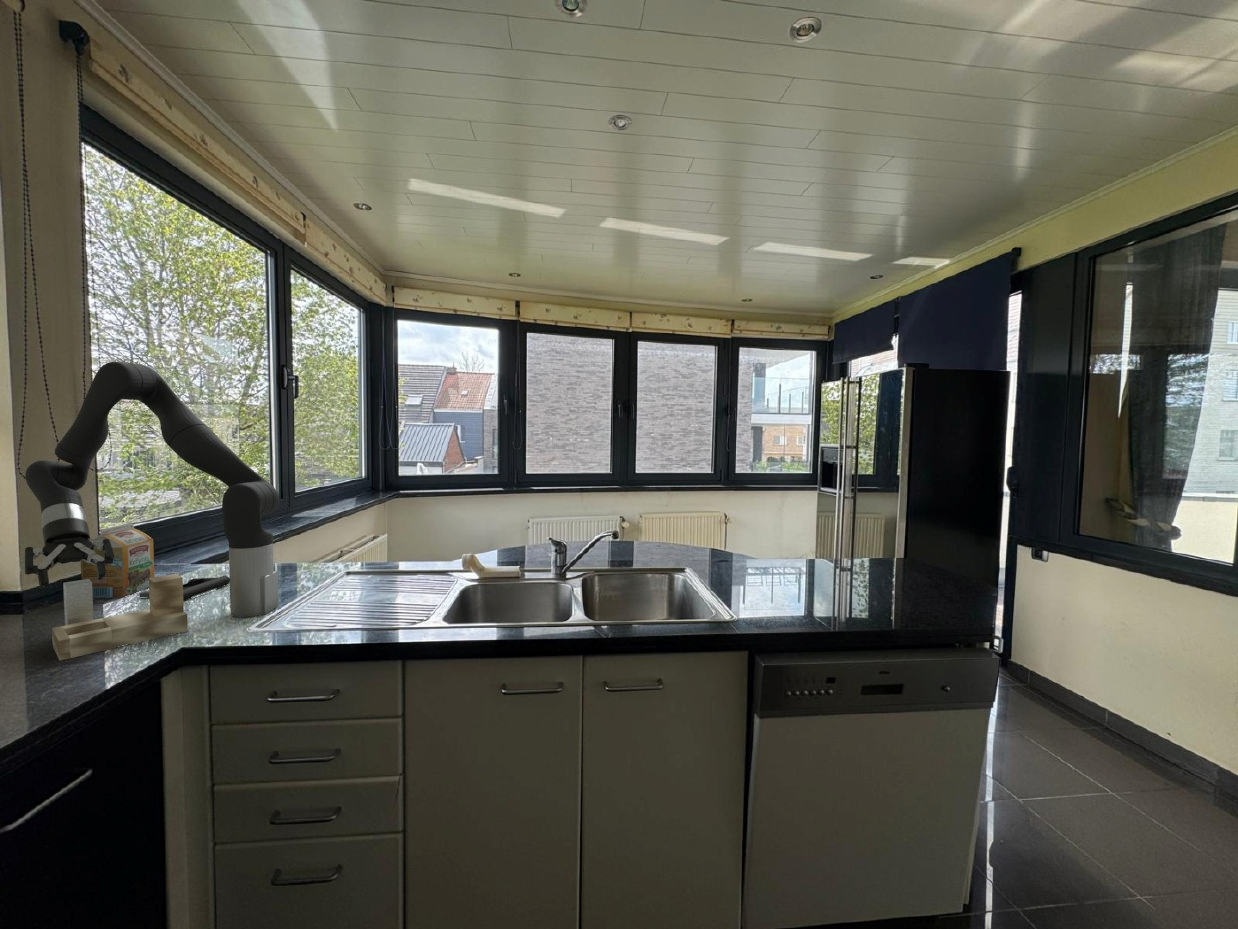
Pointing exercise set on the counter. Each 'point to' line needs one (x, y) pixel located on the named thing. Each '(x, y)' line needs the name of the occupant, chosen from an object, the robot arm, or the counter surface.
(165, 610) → the post base
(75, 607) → the square post
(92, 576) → the milk carton
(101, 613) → the counter surface
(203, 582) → the door handle
